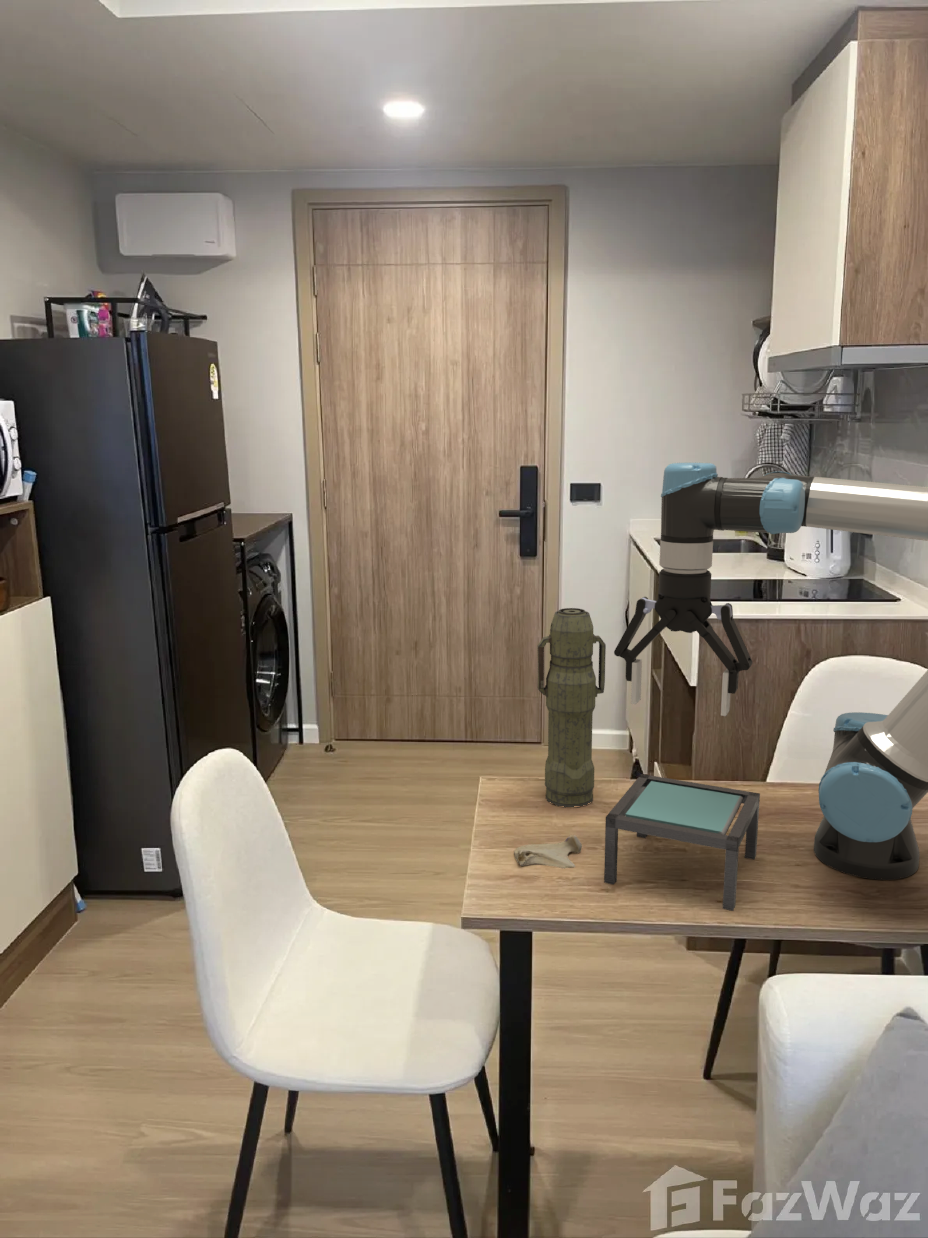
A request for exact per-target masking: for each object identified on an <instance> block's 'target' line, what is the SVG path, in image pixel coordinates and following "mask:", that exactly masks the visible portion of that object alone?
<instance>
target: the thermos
mask: <svg viewBox="0 0 928 1238" xmlns="http://www.w3.org/2000/svg"><path fill="white" fill-rule="evenodd" d="M548 643H549V654H550V661H549V669H548V671H547V674H546V678H545V676H544V675H545V646H546V644H548ZM597 643H598V686H597V682H596V681H597V677H596V674H595V671H594V666H593V664H594V662H593V658H592V657H593V656H594V655H593V654H594V644H597ZM606 650H607V649H606V643H605V642H604V640H603V639H602V638H601V636H600V635H595V634H594V624H593V621H592V618H591V614H590V612H588V611H586V610H585V609H583V608H577V607H576V608H575V607H566V608H565V607H564V608H560V609H559V610H557V611H555V612H554V615H553V617H552V620H551V624H550V629H549V635H548V636H543V637H542V639H540V641H539V643H538V644H537V690H538V691H539V692H540V693H541V694H542V695H543V696H545V706H546V708H547V711H548V715H547V716H548V722H547V724H548V734H547V735H548V736H547V737H548V738H547V744H548V745H547V758H546V760H545V766H544V786H545V800H546V799H547V800H546V801H547V802H548V803H549V802H551V803H553V804H555V805H554V806H556V805H557V806H556V807H559V806H564V807H563V808H566V807H574V806H583V805H586V806H588V805H589V804H588V803H590V802H591V803H593V801H594V792H593V791H594V787H595V766H594V762H593V757H592V754H593V753H592V752H593V750H592V749H593V712H594V710H595V709H596V698H598V694H599V695H600V694H604V691H605V683H606V654H607V653H606V652H607V651H606ZM551 803H550V804H551ZM591 803H590V804H591ZM553 804H552V805H553ZM587 804H588V805H587ZM583 807H584V806H583Z"/></svg>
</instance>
